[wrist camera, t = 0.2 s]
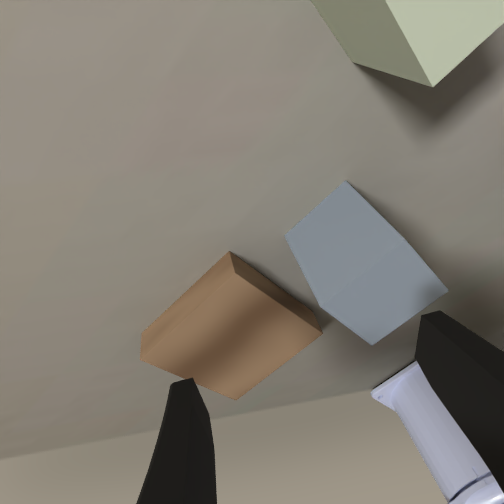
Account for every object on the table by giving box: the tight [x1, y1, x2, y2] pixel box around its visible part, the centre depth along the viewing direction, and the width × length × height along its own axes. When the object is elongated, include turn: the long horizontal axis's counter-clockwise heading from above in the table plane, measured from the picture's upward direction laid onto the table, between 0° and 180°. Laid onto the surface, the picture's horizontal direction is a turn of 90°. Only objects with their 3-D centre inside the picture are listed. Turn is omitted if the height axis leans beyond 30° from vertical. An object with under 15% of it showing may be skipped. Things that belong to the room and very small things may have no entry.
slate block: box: [284, 180, 449, 345], centre depth 19 cm, size 4×4×6 cm
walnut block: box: [140, 251, 323, 400], centre depth 23 cm, size 8×8×2 cm
